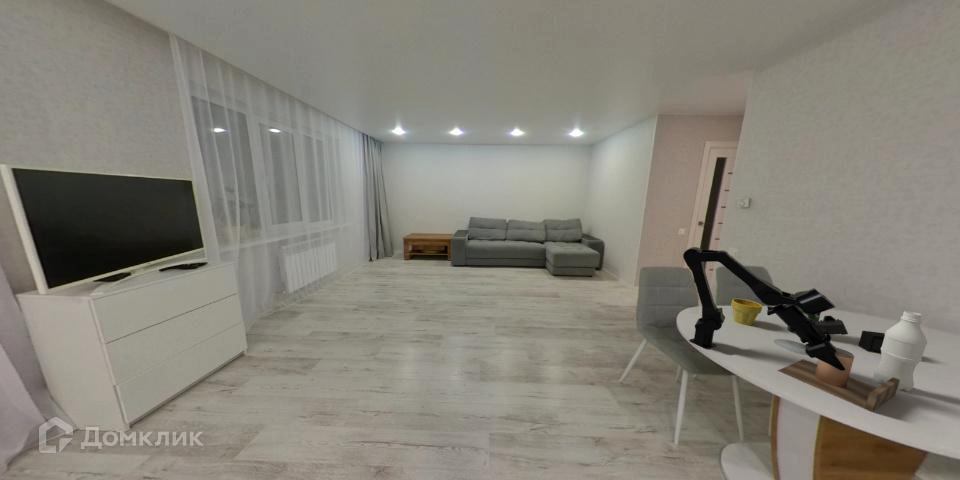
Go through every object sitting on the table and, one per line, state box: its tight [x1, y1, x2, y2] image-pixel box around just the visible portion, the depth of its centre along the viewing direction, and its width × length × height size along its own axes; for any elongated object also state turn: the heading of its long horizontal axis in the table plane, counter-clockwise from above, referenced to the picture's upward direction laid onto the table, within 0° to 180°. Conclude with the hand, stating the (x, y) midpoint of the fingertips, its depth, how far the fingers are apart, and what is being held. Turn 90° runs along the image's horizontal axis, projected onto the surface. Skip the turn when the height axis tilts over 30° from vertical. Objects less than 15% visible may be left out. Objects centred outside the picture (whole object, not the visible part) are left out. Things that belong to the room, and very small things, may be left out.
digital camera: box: [857, 330, 885, 354], centre depth 107 cm, size 10×5×7 cm, turn 72°
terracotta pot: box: [815, 347, 855, 388], centre depth 88 cm, size 6×6×10 cm
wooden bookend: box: [777, 358, 900, 413], centre depth 88 cm, size 18×19×6 cm
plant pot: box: [730, 298, 763, 326], centre depth 131 cm, size 10×10×10 cm
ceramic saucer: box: [773, 338, 809, 357], centre depth 109 cm, size 12×12×1 cm
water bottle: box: [872, 310, 928, 392], centre depth 86 cm, size 7×7×25 cm
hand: (841, 365), depth 87 cm, fingers closed on terracotta pot, 6 cm apart
